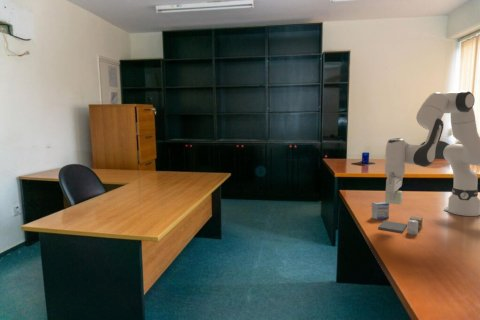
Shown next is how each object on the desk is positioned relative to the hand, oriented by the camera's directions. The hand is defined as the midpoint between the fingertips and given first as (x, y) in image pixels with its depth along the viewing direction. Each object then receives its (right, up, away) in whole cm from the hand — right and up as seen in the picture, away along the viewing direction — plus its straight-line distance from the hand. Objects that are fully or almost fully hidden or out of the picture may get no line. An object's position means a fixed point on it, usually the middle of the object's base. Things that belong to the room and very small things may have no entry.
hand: (393, 198), depth 162 cm
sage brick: (0, -2, 0) cm, 2 cm away
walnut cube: (+12, -15, +1) cm, 19 cm away
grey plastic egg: (+6, -16, -7) cm, 18 cm away
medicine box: (+1, -13, +18) cm, 22 cm away
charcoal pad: (0, -15, +2) cm, 15 cm away
